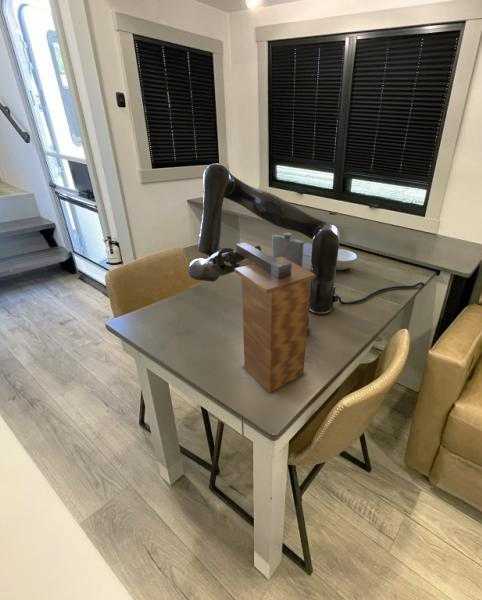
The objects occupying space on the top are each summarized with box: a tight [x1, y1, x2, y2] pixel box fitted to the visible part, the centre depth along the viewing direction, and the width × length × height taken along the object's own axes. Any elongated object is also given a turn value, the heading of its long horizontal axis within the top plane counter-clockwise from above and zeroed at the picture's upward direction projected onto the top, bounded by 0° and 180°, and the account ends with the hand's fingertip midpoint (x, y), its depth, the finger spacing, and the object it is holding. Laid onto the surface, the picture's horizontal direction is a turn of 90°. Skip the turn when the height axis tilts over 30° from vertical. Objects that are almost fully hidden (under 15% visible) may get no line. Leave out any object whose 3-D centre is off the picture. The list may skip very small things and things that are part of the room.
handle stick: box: [235, 242, 292, 279], centre depth 85 cm, size 4×20×3 cm, turn 41°
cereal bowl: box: [336, 248, 358, 271], centre depth 167 cm, size 17×17×7 cm
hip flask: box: [271, 232, 305, 268], centre depth 152 cm, size 16×4×20 cm, turn 62°
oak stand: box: [233, 257, 316, 393], centre depth 90 cm, size 15×14×32 cm
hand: (246, 252), depth 90 cm, fingers open, 8 cm apart
